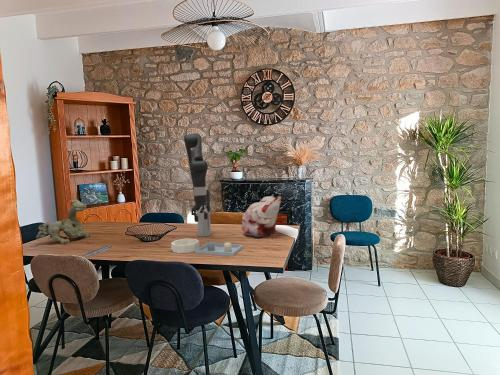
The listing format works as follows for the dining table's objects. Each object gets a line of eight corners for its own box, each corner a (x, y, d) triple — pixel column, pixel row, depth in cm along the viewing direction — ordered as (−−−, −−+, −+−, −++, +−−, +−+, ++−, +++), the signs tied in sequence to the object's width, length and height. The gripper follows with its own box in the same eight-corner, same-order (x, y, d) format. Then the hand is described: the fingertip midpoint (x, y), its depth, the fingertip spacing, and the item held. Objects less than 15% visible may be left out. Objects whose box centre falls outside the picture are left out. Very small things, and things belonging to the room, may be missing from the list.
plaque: (82, 262, 210) (82, 261, 210) (69, 261, 213) (69, 260, 213) (118, 246, 241) (118, 246, 241) (106, 246, 244) (106, 245, 244)
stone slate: (209, 248, 227) (209, 241, 227) (216, 249, 226) (215, 241, 225) (206, 250, 223) (206, 242, 222) (213, 251, 222) (212, 243, 221)
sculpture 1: (74, 246, 242) (60, 203, 238) (41, 254, 248) (26, 211, 244) (100, 233, 270) (88, 194, 266) (70, 240, 276) (57, 202, 272)
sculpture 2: (233, 236, 259) (233, 194, 255) (252, 227, 284) (252, 189, 280) (273, 242, 244) (275, 198, 240) (289, 233, 270) (291, 193, 266)
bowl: (180, 246, 238) (180, 238, 237) (202, 247, 233) (202, 239, 232) (167, 253, 223) (167, 244, 222) (191, 254, 218) (190, 246, 217)
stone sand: (225, 249, 224) (225, 241, 223) (232, 250, 222) (232, 242, 222) (223, 251, 220) (222, 243, 219) (230, 252, 218) (229, 244, 218)
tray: (207, 246, 235) (207, 242, 235) (243, 248, 228) (242, 244, 227) (195, 254, 218) (194, 250, 218) (232, 257, 211) (232, 252, 210)
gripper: (203, 192, 228) (204, 218, 230) (187, 195, 216) (188, 222, 218) (212, 193, 224) (213, 219, 226) (196, 195, 212) (198, 223, 214)
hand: (201, 220), depth 222 cm, fingers open, 8 cm apart
